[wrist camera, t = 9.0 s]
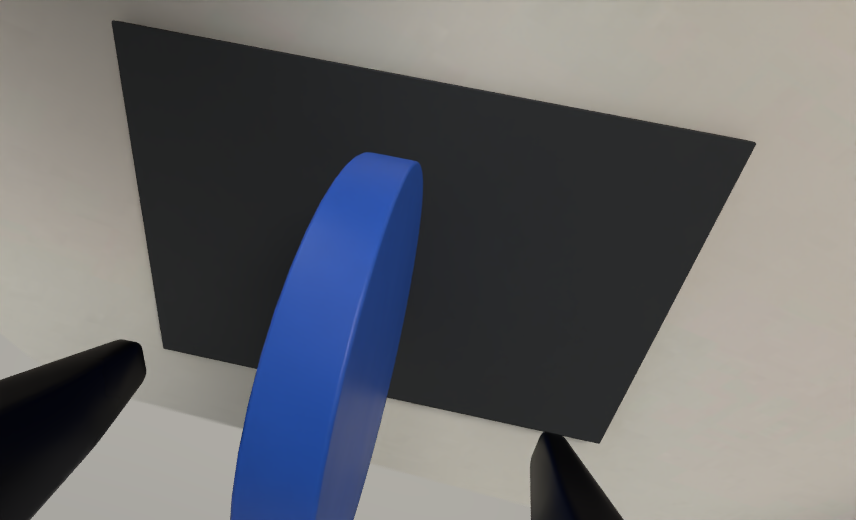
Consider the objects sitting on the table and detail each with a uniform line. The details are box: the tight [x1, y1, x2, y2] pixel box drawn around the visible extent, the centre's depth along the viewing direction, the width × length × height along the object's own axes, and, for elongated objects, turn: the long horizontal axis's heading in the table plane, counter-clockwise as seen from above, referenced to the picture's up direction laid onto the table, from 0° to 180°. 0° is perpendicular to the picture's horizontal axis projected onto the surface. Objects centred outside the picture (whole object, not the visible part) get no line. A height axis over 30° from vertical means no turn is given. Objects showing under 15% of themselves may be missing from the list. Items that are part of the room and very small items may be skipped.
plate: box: [230, 152, 423, 520], centre depth 10 cm, size 1×10×10 cm, turn 170°
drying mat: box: [112, 20, 756, 443], centre depth 15 cm, size 13×20×1 cm, turn 80°
